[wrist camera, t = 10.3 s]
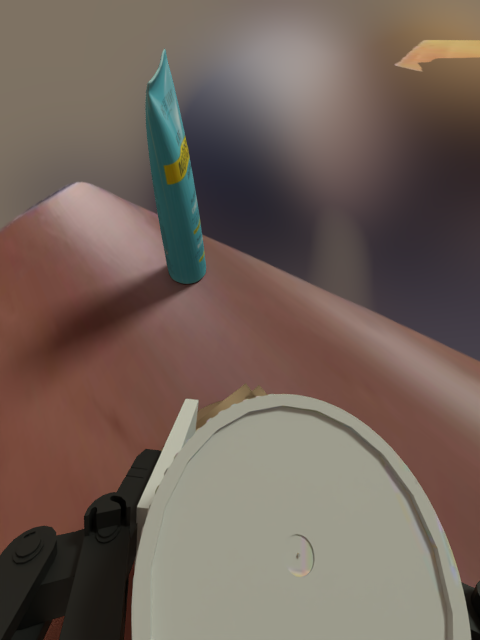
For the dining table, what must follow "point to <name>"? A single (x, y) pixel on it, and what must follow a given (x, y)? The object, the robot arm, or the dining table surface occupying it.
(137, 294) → the dining table surface
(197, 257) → the tube
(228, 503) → the bottle
